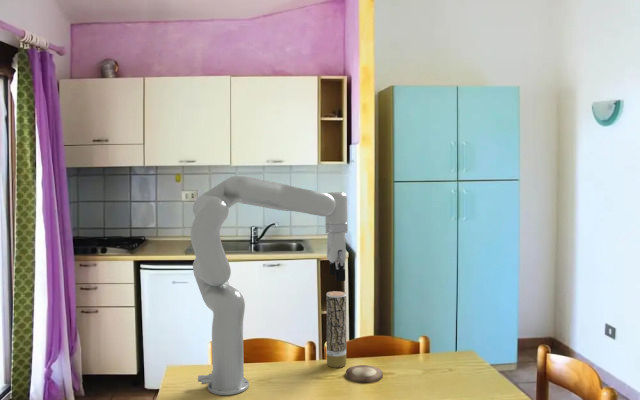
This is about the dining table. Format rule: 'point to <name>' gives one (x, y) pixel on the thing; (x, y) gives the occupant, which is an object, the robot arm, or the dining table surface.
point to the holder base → (364, 374)
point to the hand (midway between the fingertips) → (337, 277)
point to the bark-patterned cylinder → (336, 328)
